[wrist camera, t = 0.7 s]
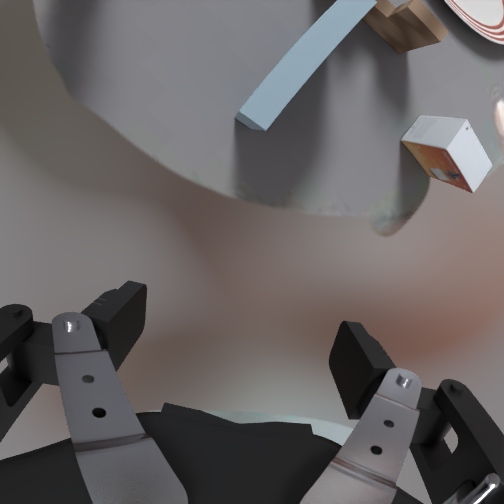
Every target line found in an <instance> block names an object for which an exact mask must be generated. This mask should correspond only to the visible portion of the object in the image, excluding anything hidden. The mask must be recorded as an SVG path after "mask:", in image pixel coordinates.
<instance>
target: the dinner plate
mask: <svg viewBox="0 0 504 504" xmlns="http://www.w3.org/2000/svg"><path fill="white" fill-rule="evenodd" d="M444 1H445V2H446V3H447V5H448V6H449V7H450V8H451V9H452V10H453V11H454V12H455V13H456V14H457V15H458V16H459V17H460V18H461V19H462V20H463V21H464V22H465V23H466V24H467V25H468V26H469V27H470V28H472V29H473V30H474V31H475V32H477V33H478V34H480V35H481V36H483V37H484V38H486V39H488V40H490V41H492V42H494V43H497V44H503V45H504V0H444Z"/></svg>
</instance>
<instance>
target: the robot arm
mask: <svg viewBox="0 0 504 504" xmlns="http://www.w3.org/2000/svg"><path fill="white" fill-rule="evenodd" d="M146 299H147V286H146V285H145V284H142V283H137V282H133V281H127V282H126V283H125V284H124V285H123V286H121V287H120V288H119V289H118V290H117V289H113V290H110V291H107V292H105V293H103V294H102V295H101V296H100V297H99V298H98V299H96V300H95V301H94V303H91V304H90V305H89V306H88V307H87V308H85V310H83V311H82V312H81V313H76V312H67V313H62V314H59V315H57V316H56V317H54V319H53V320H52V324H49V323H42V322H36V321H33V314H32V310H31V309H30V308H29V307H27V306H25V305H21V304H11V305H6V306H4V307H2V308H0V362H1V361H2V360H3V359H4V358H5V357H6V359H7V362H8V366H7V367H6V368H5V369H4V371H2V373H1V374H0V442H1V441H2V439H3V438H4V436H5V435H6V433H7V432H8V430H9V429H10V427H11V426H12V424H13V423H14V422H15V420H16V419H17V418H18V416H19V415H20V413H21V412H22V411H23V409H24V408H25V407H26V405H27V404H28V402H29V401H30V399H31V398H32V397H33V396H34V394H35V393H36V392H37V390H38V389H39V388H40V386H41V385H42V384H43V383H44V384H50V385H57V386H59V387H60V392H61V398H62V402H63V407H64V412H65V416H66V420H67V424H68V428H69V432H70V435H71V438H69V439H65V440H63V441H60V442H57V443H54V444H51V445H48V446H45V447H42V448H39V449H36V450H33V451H30V452H26V453H23V454H20V455H16V456H13V457H9V458H6V459H3V460H0V504H423V503H421V502H420V501H418V500H417V499H415V498H414V497H412V496H411V495H409V494H408V493H406V492H405V491H403V490H402V489H400V488H399V487H397V486H396V481H397V479H398V476H399V474H400V471H401V468H402V466H403V463H404V460H405V458H406V455H407V452H408V449H409V448H410V450H411V453H412V455H413V457H414V459H415V462H416V465H417V467H418V469H419V472H420V474H421V476H422V479H423V481H424V484H425V487H426V489H427V492H428V494H429V497H430V499H431V502H432V504H504V435H503V433H502V432H501V430H500V429H499V428H498V426H497V425H496V424H495V422H494V421H493V420H492V418H491V417H490V416H489V414H488V413H487V412H486V411H485V409H484V408H483V407H482V405H481V404H480V403H479V402H478V400H477V399H476V398H475V396H474V395H473V394H472V393H471V391H470V390H469V389H468V388H467V387H466V386H465V385H464V384H462V383H460V382H458V381H455V380H451V379H445V380H443V381H442V382H441V384H440V385H439V387H438V389H437V390H433V389H428V388H423V387H422V381H421V380H420V378H419V377H418V376H417V375H415V374H414V373H412V372H410V371H408V370H405V369H400V368H397V367H396V366H395V364H394V363H393V362H392V360H391V359H390V357H389V356H388V355H387V353H386V352H385V350H383V347H382V346H381V345H380V343H379V342H378V341H377V340H375V339H374V338H373V337H372V336H370V335H369V334H368V333H367V331H366V330H365V328H364V327H363V326H362V324H361V323H358V322H349V321H343V322H342V323H341V324H340V327H339V330H338V333H337V335H336V338H335V341H334V345H333V347H332V350H331V352H330V356H329V367H330V370H331V373H332V375H333V378H334V380H335V383H336V386H337V389H338V391H339V394H340V397H341V399H342V402H343V405H344V407H345V410H346V413H347V416H348V418H349V419H360V420H359V422H358V424H357V425H356V427H355V428H354V430H353V431H352V433H351V434H350V436H349V437H348V439H347V440H346V442H345V443H344V445H343V446H341V445H339V444H338V443H336V442H334V441H332V440H329V439H327V438H324V437H321V436H318V435H314V434H313V432H312V427H311V424H301V423H287V422H264V423H247V424H239V423H234V422H231V421H228V420H225V419H222V418H220V417H217V416H214V415H211V414H209V413H206V412H203V411H201V410H195V409H191V408H186V407H182V406H177V405H173V404H169V403H164V405H163V408H162V411H161V412H143V413H136V414H135V412H134V410H133V408H132V406H131V404H130V402H129V400H128V398H127V396H126V393H125V391H124V389H123V387H122V385H121V383H120V380H119V378H118V376H117V373H116V372H117V370H118V369H119V367H120V365H121V364H122V362H123V361H124V359H125V358H126V356H127V355H128V353H129V352H130V350H131V349H132V347H133V346H134V344H135V343H136V341H137V340H138V338H139V337H140V335H141V334H142V332H143V329H144V325H145V315H146V314H145V313H146ZM451 427H452V428H453V429H454V431H455V432H456V434H457V436H458V445H457V448H456V449H455V451H454V452H453V453H451V451H450V449H449V448H448V446H447V444H446V443H445V440H444V437H445V436H446V434H447V433H448V431H449V430H450V429H451Z"/></svg>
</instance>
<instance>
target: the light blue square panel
mask: <svg viewBox="0 0 504 504" xmlns="http://www.w3.org/2000/svg"><path fill="white" fill-rule="evenodd" d="M376 3H377V1H375V0H337V1H336V2H335V3H334V4H333V5H332V6H331V7H330V8H329V9H328V10H327V11H326V12H325V13H324V14H323V15H322V16H321V17H320V18H319V19H318V20H317V21H316V22H315V23H314V24H313V25H312V26H311V27H310V29H309V30H308V31H307V32H306V33H305V34H304V35H303V36H302V37H301V38H300V39H299V40H298V41H297V43H296V44H295V45H294V46H293V47H292V48H291V49H290V50H289V51H288V53H287V54H286V55H285V56H284V57H283V58H282V59H281V61H280V62H279V63H278V64H277V65H276V66H275V68H274V69H273V70H272V71H271V72H270V73H269V75H268V76H267V77H266V78H265V79H264V81H263V82H262V83H261V84H260V85H259V87H258V88H257V89H256V90H255V92H254V93H253V94H252V95H251V97H250V98H249V99H248V100H247V102H246V103H245V104H244V105H243V107H242V108H241V109H240V111H239V112H238V113H237V115H236V116H235V118H236V119H237V120H239V121H240V122H242V123H243V124H245V125H246V126H247V127H249V128H250V129H255V130H267V129H268V128H269V126H270V125H271V124H272V122H273V121H274V120H275V119H276V117H277V116H278V115H279V114H280V112H281V111H282V110H283V109H284V107H285V106H286V105H287V104H288V103H289V101H290V100H291V99H292V98H293V96H294V95H295V94H296V93H297V92H298V90H299V89H300V88H301V87H302V86H303V84H304V83H305V82H306V81H307V80H308V78H309V77H310V76H311V75H312V74H313V72H314V71H315V70H316V69H317V68H318V67H319V65H320V64H321V63H322V62H323V61H324V60H325V59H326V57H327V56H328V55H329V54H330V53H331V52H332V51H333V49H334V48H335V47H336V46H337V45H338V44H339V43H340V42H341V40H342V39H343V38H344V37H345V36H346V35H347V34H348V33H349V32H350V31H351V29H352V28H353V27H354V26H355V25H356V24H357V23H358V22H359V21H360V20H361V19H362V18H363V17H364V16H365V14H366V13H367V12H368V11H369V10H370V9H371V8H372V7H373V6H374V5H375V4H376Z"/></svg>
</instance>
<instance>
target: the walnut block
mask: <svg viewBox="0 0 504 504" xmlns="http://www.w3.org/2000/svg"><path fill="white" fill-rule="evenodd" d="M375 1H377V3H376V4H375V5H374V6H373V7H372V8H371V9H370V10H369V11H368V12H367V13H366V14H365V16H364V17H363V18H362V20H363V21H364V22H365V23H366V24H368V25H369V26H370V27H371V28H372V29H373V30H374V31H375V32H377V33H378V34H379V35H380V36H381V37H382V38H383V39H384V40H385V41H386V42H387V43H388V44H389V45H390V46H391V47H392V48H393V49H394V50H395V51H396V52H397V53H398V54H400V53H403V52H406V51H410V50H413V49H416V48H420V47H424V46H427V45H431V44H435V43H439V42H441V41H442V40H443V38H444V37H445V35H446V34H447V33H448V31H447V29H446V28H445V27H444V26H443V25H442V24H441V23H440V21H439V20H438V19H437V18H436V17H435V16H434V15H433V14H432V13H431V12H430V11H429V10H428V9H427V7H426V6H425V5H424V4H423V3H422V2H421V1H420V0H410V1H408V2H406V3H404V4H402V5H401V6H399V7H397V8H395V7H394V6H393V5H392V4H391V3H390V2H389V1H388V0H375Z"/></svg>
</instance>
